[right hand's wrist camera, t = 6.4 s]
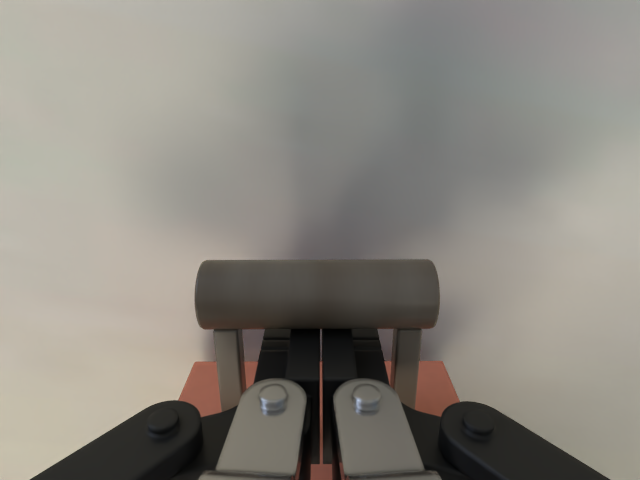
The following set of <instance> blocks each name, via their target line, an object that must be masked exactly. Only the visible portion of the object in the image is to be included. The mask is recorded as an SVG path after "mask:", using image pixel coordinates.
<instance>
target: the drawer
mask: <svg viewBox="0 0 640 480" xmlns="http://www.w3.org/2000/svg"><path fill="white" fill-rule="evenodd" d="M439 307H440V289H439V280H438V275H437V271H436V268H435V266H434V264H433V262H432V261H430V260H206V261H204V262H202V264H201V265H200V268H199V271H198V274H197V278H196V285H195V311H196V317H197V320H198V323H199V326H200V327H201V328H203V329H214V331H213V335H214V345H215V354H216V362H195V363H194V365H193V367H192V370H191V372H190V374H189V377H188V379H187V381H186V384H185V386H184V388H183V391H182V393H181V395H180V398H179V400H178V401H184V402H188V403H190V404H192V405H194V406H195V407H196V408H197V409H198V411H199V412H200V415H201V417H204V416H208V415H212V414H216V413H220V412H223V411H226V410H229V409H231V408H233V407H235V406H237V405H238V404H239V401H240V398H241V396H242V394H243V393H244V391H245V390H246V389H247V388H248V387H250V386H251V385H253V383H254V378H255V374H256V369H257V364H258V362H244V349H243V337H242V329H393V345H392V360H391V361H384V362H385V366H386V371H387V375H388V379H389V384H390V387H392V388H393V389H394V390H395V391H396V393H397V394H398V396H399V399H400V401H401V402H402V403H403V404H405V405H406V406H408V407H410V408H412V409H415V410H417V411H420V412H424V413H428V414H432V415H436V416H440V417H441V415H442V412H443V411H444V410H445V409H446V408H447V407H448V406H450V405H451V404H454V403H457V402H460V401H459V399H458V396H457V394H456V392H455V389H454V387H453V385H452V382H451V380H450V378H449V375H448V373H447V371H446V368H445V366H444V364H443V362H442V361H419V359H420V348H421V337H422V330H421V329H430V328H433V327H434V326H435V325H436V322H437V319H438V315H439ZM311 480H332V464H323V418H322V361H320V464H311Z"/></svg>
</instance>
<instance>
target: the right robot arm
mask: <svg viewBox="0 0 640 480" xmlns="http://www.w3.org/2000/svg"><path fill="white" fill-rule="evenodd" d="M322 418H323V464H332V480H610V479H608V478H607V477H605V476H603V475H602V474H600V473H599V472H597V471H595V470H594V469H592V468H590V467H589V466H587V465H586V464H584V463H582V462H581V461H579V460H577V459H576V458H574V457H572V456H571V455H569V454H568V453H566V452H564V451H563V450H561V449H559V448H558V447H556V446H555V445H553V444H551V443H550V442H548V441H546V440H545V439H543V438H542V437H540V436H538V435H537V434H535V433H533V432H532V431H530V430H528V429H527V428H525V427H524V426H522V425H520V424H519V423H517V422H515V421H514V420H512V419H511V418H509V417H507V416H506V415H504V414H502V413H501V412H499V411H497V410H496V409H494V408H492V407H490V406H487V405H484V404H481V403H476V402H468V401H467V402H457V403H454V404H451V405H450V406H448V407H447V408H446V409H445V410H444V411H443V412H442V415H441V417H440V416H436V415H432V414H428V413H424V412H420V411H417V410H415V409H412V408H410V407H408V406H406V405H405V404H403V403H402V402H401V401H400V399H399V396H398V394H397V393H396V391H395V390H394V389H393V388H392V387H390V384H389V379H388V375H387V371H386V366H385V362H384V357H383V353H382V350H381V344H380V340H379V335H378V331H377V329H322ZM311 464H320V329H265V332H264V337H263V341H262V346H261V351H260V355H259V360H258V364H257V369H256V374H255V378H254V383H253V385H251V386H250V387H248V388H247V389H246V390H245V391H244V393H243V394H242V396H241V398H240V401H239V404H238V405H237V406H235V407H233V408H231V409H229V410H226V411H223V412H220V413H216V414H212V415H208V416H204V417H201V415H200V412H199V411H198V409H197V408H196V407H195V406H194V405H192V404H190V403H188V402H184V401H175V400H174V401H165V402H161V403H157V404H154V405H152V406H150V407H148V408H146V409H144V410H142V411H141V412H139V413H138V414H136V415H134V416H133V417H131V418H129V419H128V420H126V421H125V422H123V423H121V424H120V425H118V426H116V427H115V428H113V429H112V430H110V431H108V432H107V433H105V434H103V435H102V436H100V437H99V438H97V439H95V440H94V441H92V442H90V443H89V444H87V445H85V446H84V447H82V448H81V449H79V450H77V451H76V452H74V453H72V454H71V455H69V456H68V457H66V458H64V459H63V460H61V461H59V462H58V463H56V464H55V465H53V466H51V467H50V468H48V469H46V470H45V471H43V472H41V473H40V474H38V475H37V476H35V477H33V478H32V479H30V480H311Z"/></svg>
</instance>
